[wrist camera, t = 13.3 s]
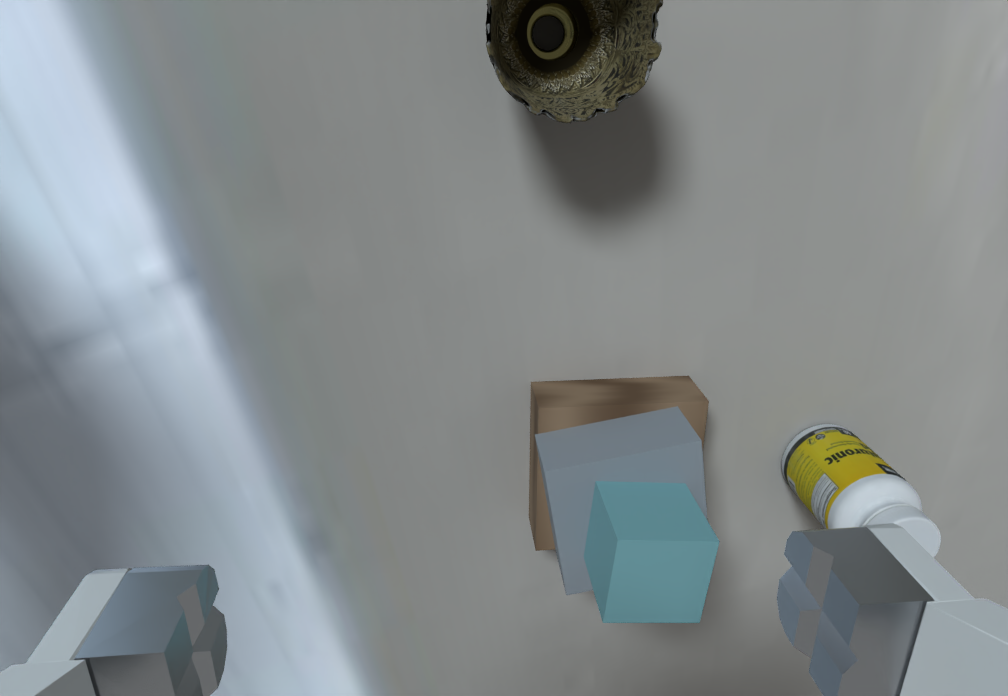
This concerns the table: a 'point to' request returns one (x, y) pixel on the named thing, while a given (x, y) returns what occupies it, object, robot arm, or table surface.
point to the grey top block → (611, 473)
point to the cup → (573, 54)
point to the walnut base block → (599, 420)
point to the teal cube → (648, 552)
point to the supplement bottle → (853, 485)
